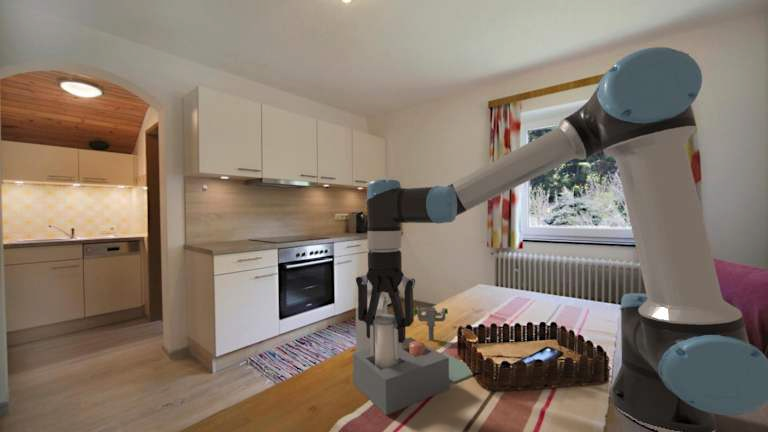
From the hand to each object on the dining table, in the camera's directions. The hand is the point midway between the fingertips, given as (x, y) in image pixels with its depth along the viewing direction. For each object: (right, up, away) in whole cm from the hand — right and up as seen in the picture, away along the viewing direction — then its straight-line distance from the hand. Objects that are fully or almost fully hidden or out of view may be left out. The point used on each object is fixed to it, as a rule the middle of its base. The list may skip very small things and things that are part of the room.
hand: (386, 354), depth 69 cm
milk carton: (-4, -9, +15) cm, 18 cm away
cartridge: (0, -8, 0) cm, 8 cm away
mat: (+16, -8, +11) cm, 21 cm away
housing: (+3, -8, +2) cm, 9 cm away
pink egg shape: (+7, -7, +5) cm, 12 cm away
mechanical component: (+14, -8, +28) cm, 33 cm away
